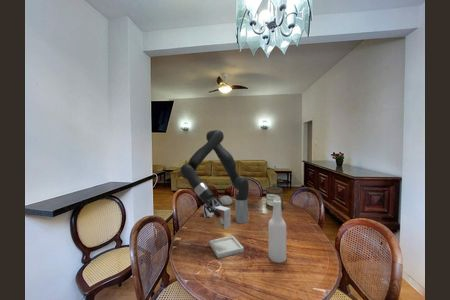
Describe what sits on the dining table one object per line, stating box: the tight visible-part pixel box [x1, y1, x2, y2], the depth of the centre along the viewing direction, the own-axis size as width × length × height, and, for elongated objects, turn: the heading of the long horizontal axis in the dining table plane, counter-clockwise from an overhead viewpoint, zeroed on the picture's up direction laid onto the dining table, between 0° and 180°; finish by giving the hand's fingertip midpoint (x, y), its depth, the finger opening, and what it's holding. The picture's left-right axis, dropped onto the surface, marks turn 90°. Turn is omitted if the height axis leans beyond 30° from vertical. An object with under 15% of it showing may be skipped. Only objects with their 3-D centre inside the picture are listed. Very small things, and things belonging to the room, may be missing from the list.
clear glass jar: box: [265, 183, 284, 212], centre depth 176 cm, size 15×15×22 cm
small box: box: [213, 205, 232, 230], centre depth 109 cm, size 8×6×10 cm
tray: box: [209, 235, 245, 260], centre depth 110 cm, size 15×15×2 cm
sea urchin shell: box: [219, 195, 233, 206], centre depth 191 cm, size 13×14×8 cm
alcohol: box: [268, 200, 287, 264], centre depth 99 cm, size 9×9×30 cm
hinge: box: [202, 205, 214, 219], centre depth 164 cm, size 17×5×10 cm, turn 167°
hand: (221, 214), depth 110 cm, fingers closed on small box, 7 cm apart
